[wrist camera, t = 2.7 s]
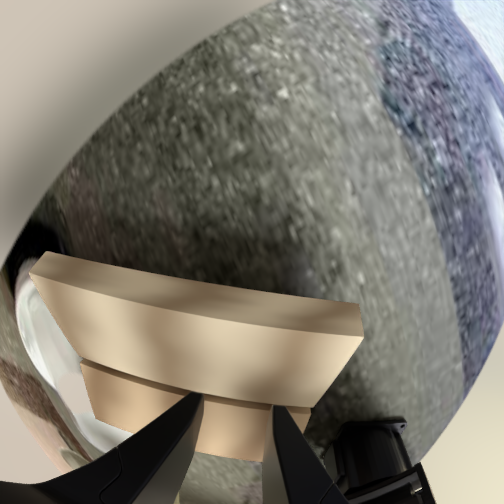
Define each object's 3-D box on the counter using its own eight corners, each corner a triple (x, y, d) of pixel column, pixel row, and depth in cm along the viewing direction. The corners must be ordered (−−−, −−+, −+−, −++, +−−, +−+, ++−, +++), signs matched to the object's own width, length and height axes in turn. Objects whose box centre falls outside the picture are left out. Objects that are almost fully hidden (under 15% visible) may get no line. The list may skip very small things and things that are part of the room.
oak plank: (358, 303, 13) (364, 336, 11) (313, 383, 19) (313, 407, 17) (46, 251, 14) (28, 272, 12) (88, 336, 19) (78, 355, 18)
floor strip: (310, 391, 19) (312, 409, 17) (289, 447, 21) (289, 463, 19) (91, 346, 20) (78, 358, 18) (104, 406, 22) (95, 418, 20)
